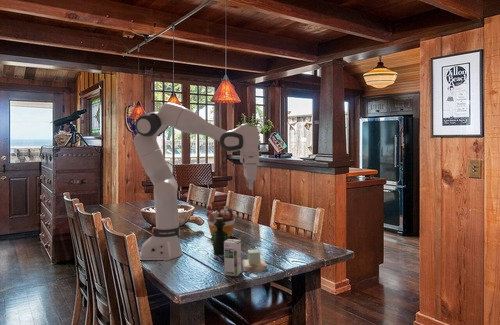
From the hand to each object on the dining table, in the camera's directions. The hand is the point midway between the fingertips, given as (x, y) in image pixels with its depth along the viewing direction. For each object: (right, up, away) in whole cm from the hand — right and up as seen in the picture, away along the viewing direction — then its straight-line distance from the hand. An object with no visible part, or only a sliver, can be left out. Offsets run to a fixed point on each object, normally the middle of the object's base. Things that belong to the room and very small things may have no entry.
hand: (249, 188), depth 184 cm
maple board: (+2, -35, -8) cm, 36 cm away
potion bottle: (-15, -34, +15) cm, 40 cm away
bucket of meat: (-17, -32, +48) cm, 60 cm away
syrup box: (-7, -36, -16) cm, 40 cm away
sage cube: (+2, -33, -8) cm, 34 cm away
